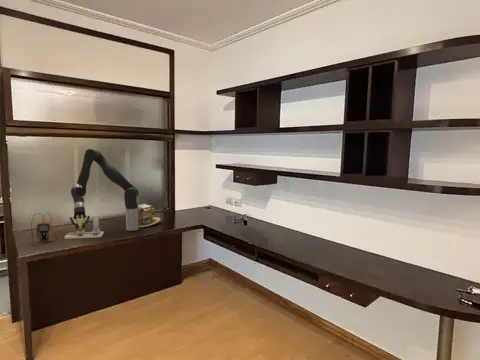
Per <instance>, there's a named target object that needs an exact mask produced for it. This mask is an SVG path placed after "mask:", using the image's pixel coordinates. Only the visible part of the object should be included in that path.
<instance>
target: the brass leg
mask: <svg viewBox="0 0 480 360" xmlns="http://www.w3.org/2000/svg"><path fill="white" fill-rule="evenodd" d="M77 225H78V230H77V229H76V232H75V233H78V234H79V235H80V233H84V232H85V229H86V228H84V229H83V219H82V218H79V219H77Z"/></svg>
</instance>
